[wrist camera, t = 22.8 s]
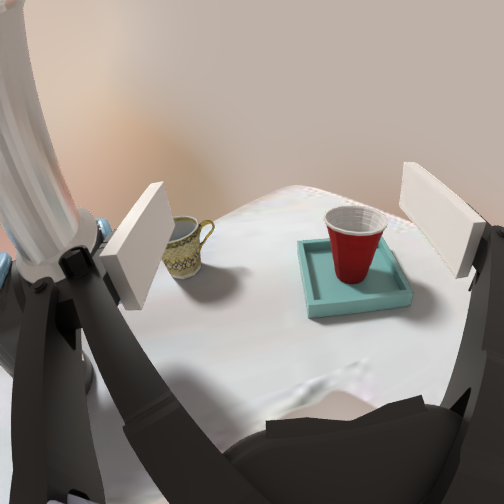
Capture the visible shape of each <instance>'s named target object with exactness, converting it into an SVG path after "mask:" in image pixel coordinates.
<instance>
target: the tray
mask: <svg viewBox="0 0 504 504" xmlns="http://www.w3.org/2000/svg"><path fill="white" fill-rule="evenodd" d="M297 248H298V258H299V264H300V270H301V276H302V282H303V288H304V294H305V301H306V307H307V314H308V318H316V317H326V316H336V315H345V314H353V313H361V312H369V311H377V310H384V309H391V308H398V307H405V306H410V303H411V300H412V297H413V294H414V293H413V291H412V289H411V287H410V285H409V283H408V281H407V279H406V277H405V276H404V274H403V272H402V270H401V268H400V266H399V265H398V263H397V261H396V259H395V257H394V256H393V254H392V252H391V250H390V249H389V247H388V245H387V244H386V242H385V240H384V239H383V237H382V235H381V238H380V240H379V243H378V246H377V249H376V252H375V255H374V258H373V261H372V263H371V265H370V267H369V270H368V273H367V276H366V277H365V279H364V280H363V281H362V282H360V283H358V284H346V283H344V282H342V281H340V280H339V279H338V278H337V276H336V273H335V269H334V261H333V257H332V250H331V243H330V238H328V239H315V240H303V241H297Z"/></svg>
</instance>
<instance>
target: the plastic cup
mask: <svg viewBox="0 0 504 504" xmlns="http://www.w3.org/2000/svg"><path fill="white" fill-rule="evenodd" d="M323 219H324V221H325V224H326V225H327V228H328V233H329V236H330V243H331V250H332V257H333V261H334V269H335V273H336V276H337V278H338V279H339V280H340V281H342V282H344V283H346V284H358V283H360V282H362V281H363V280H364V279H365V277H366V276H367V273H368V270H369V267H370V265H371V263H372V261H373V258H374V255H375V252H376V249H377V246H378V243H379V240H380V238H381V235H382V234H383V231H384V229H385V228H386V227H387V225H388V219H387V218H386V217H385V215H384V214H382V213H380V212H379V211H377V210H375V209H371V208H368V207H364V206H355V205H349V206H339V207H335V208H332V209H330V210H328V211H326V212H325V214H324V216H323Z"/></svg>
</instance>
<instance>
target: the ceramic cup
mask: <svg viewBox="0 0 504 504" xmlns="http://www.w3.org/2000/svg"><path fill="white" fill-rule="evenodd" d="M173 219H174V223H175V227H174V230H173V232H172V234H171V237H170V239H169V241H168V244H167V246H166V249H165V251H164V253H163V256H162V258H161V259H162V261H163V262H164V264H165V266H166V267H167V269H168V271H169V273H170V274H171V276H172V277H173V278H178V279H182V280H183V279H186V278H189V277H192V276H195V275H196V273H197V272H198V271H199V270H200V268H201V259H200V250H201V248H202V245H203V244H204V243H205V241H206V240H207V238H208V237H209V236H210V235H211V234H212V232H213V231H214V227H215V226H214V223H213V222H212V221H210V220H205V221H203V222H201V223H200V224H199V223H198V221H197V219H195V218H193V217H190V216H177V217H173ZM209 223H210V224H212V226H213V227H212V230H211V231H210V232H209V233H208V234H207V236H206V237H205V239H204V240H203V242H202V243H200V240H199V237H200V232H201V229H202V228H203V227H204V226H205V225H206V224H209Z"/></svg>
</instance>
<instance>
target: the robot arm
mask: <svg viewBox="0 0 504 504" xmlns="http://www.w3.org/2000/svg"><path fill="white" fill-rule="evenodd" d="M24 3H25V0H0V225H1V226H2V228H3V229H4V231H5V232H6V234H7V235H8V237H9V238H10V240H11V241H12V243H13V244H14V246H15V247H16V249H17V251H16V260H14V261H12V258H11V256H10V255H9V254H7V253H6V252H1V253H0V365H1V366H2V367H3V368H4V369H5V370H6V371H7V372H8V374H9V375H10V376H11V377H12V378H13V388H12V406H11V445H12V461H13V475H12V482H11V490H10V500H9V504H106V503H105V496H104V489H103V484H102V480H101V475H100V471H99V467H98V463H97V459H96V454H95V450H94V445H93V440H92V434H91V429H90V423H89V417H88V410H87V402H86V394H87V392H88V390H89V387H90V384H91V380H92V366H91V362H90V360H89V358H88V357H87V355H86V354H85V353H84V351H83V350H82V344H81V328H83V331H84V334H85V336H86V339H87V342H88V344H89V347H90V349H91V352H92V354H93V357H94V359H95V362H96V364H97V366H98V369H99V371H100V373H101V375H102V378H103V380H104V382H105V384H106V386H107V388H108V391H109V393H110V395H111V397H112V399H113V401H114V403H115V405H116V407H117V409H118V411H119V413H120V414H121V416H122V418H123V420H124V422H125V426H123V431H124V433H125V435H126V437H127V439H128V441H129V443H130V445H131V446H132V448H133V450H134V451H135V453H136V455H137V456H138V458H139V460H140V461H141V463H142V464H143V466H144V468H145V469H146V471H147V472H148V474H149V475H150V477H151V478H152V480H153V481H154V483H155V484H156V486H157V487H158V488H159V490H160V491H161V493H162V494H163V495H164V497H165V498H166V499H167V501H168V502H169V504H504V227H501V226H491V225H490V224H489V223H488V222H487V221H486V220H485V219H484V218H483V217H482V216H480V215H479V213H477V212H476V211H475V210H474V209H473V208H472V207H471V206H470V205H469V204H467V203H466V202H464V201H463V200H462V199H461V198H460V197H458V196H457V195H456V194H455V193H454V192H453V191H451V190H450V189H449V188H448V187H447V186H445V185H444V184H443V183H442V182H440V181H439V180H438V179H437V178H435V177H434V176H433V175H432V174H430V173H429V172H428V171H426V170H425V169H424V168H422V167H421V166H420V165H418V164H417V163H416V162H404V168H403V178H402V187H401V196H400V203H399V206H400V208H401V209H402V210H403V211H404V212H405V213H406V215H407V216H408V217H409V218H410V219H411V221H412V222H413V223H414V224H415V225H416V227H417V228H418V229H419V230H420V232H421V233H422V234H423V235H424V237H425V238H426V239H427V241H428V242H429V243H430V244H431V246H432V247H433V248H434V250H435V251H436V252H437V254H438V255H439V256H440V258H441V259H442V260H443V262H444V263H445V265H446V266H447V267H448V269H449V270H450V272H451V273H452V274H453V276H454V277H455V279H457V278H463V277H468V275H469V272H470V270H471V267H472V265H473V266H474V268H475V269H476V270H477V271H476V273H475V276H474V278H473V281H472V283H471V285H470V288H469V290H468V291H471V289H472V292H471V298H470V304H469V309H468V314H467V319H466V324H465V328H464V332H463V337H462V341H461V344H460V348H459V352H458V356H457V359H456V363H455V366H454V369H453V372H452V376H451V379H450V382H449V385H448V388H447V390H446V393H445V396H444V398H443V401H442V403H441V404H440V406H436V405H429V404H424V401H423V398H422V395H419V396H415V397H412V398H408V399H404V400H400V401H396V402H392V403H388V404H386V405H384V406H382V407H380V408H378V409H376V410H374V411H372V412H370V413H368V414H365V415H363V416H361V417H359V418H357V419H354V420H351V421H342V420H328V419H318V418H309V417H306V418H296V419H284V420H270V421H266V430H264V431H261V432H257V433H255V434H252V435H250V436H248V437H246V438H244V439H242V440H240V441H239V442H237V443H236V444H234V445H233V446H231V447H230V448H229V449H228V450H227V451H225V452H224V453H223V454H222V453H221V452H220V451H219V450H218V449H217V448H216V447H215V445H214V444H213V443H212V442H211V441H210V440H209V438H208V437H207V436H206V435H205V434H204V433H203V431H202V430H201V429H200V428H199V426H198V425H197V424H196V423H195V422H194V420H193V419H192V418H191V416H190V415H189V414H188V413H187V411H186V410H185V409H184V407H183V406H182V405H181V404H180V402H179V401H178V400H177V398H176V397H175V396H174V394H173V393H172V392H171V390H170V389H169V388H168V386H167V385H166V383H165V382H164V381H163V379H162V378H161V376H160V375H159V373H158V372H157V370H156V369H155V367H154V366H153V364H152V363H151V361H150V360H149V358H148V357H147V355H146V354H145V352H144V351H143V349H142V348H141V346H140V344H139V343H138V341H137V340H136V338H135V336H134V335H133V333H132V331H131V330H130V328H129V326H128V325H127V323H126V321H125V319H124V318H123V316H122V314H121V313H120V311H119V309H118V307H117V306H118V305H119V304H121V303H122V304H123V306H124V308H125V310H142V308H143V305H144V303H145V300H146V297H147V294H148V292H149V289H150V286H151V284H152V281H153V279H154V276H155V273H156V271H157V268H158V266H159V263H160V261H161V258H162V256H163V253H164V251H165V249H166V246H167V244H168V241H169V239H170V237H171V234H172V232H173V230H174V227H175V223H174V219H173V216H172V212H171V208H170V204H169V201H168V197H167V193H166V189H165V185H164V182H157V183H152V184H150V185H149V187H148V188H147V189H146V190H145V192H144V193H143V194H142V196H141V197H140V199H139V200H138V201H137V202H136V204H135V205H134V207H133V208H132V209H131V210H130V212H129V213H128V215H127V216H126V217H125V219H124V220H123V222H122V223H121V224H120V226H119V227H118V229H115V230H114V231H112V230H111V228H110V225H109V223H108V221H107V220H106V219H104V218H101V219H94V217H93V215H92V214H91V213H90V211H88V210H87V209H85V208H83V207H80V206H76V205H75V203H74V201H73V199H72V196H71V194H70V191H69V189H68V187H67V184H66V181H65V179H64V176H63V174H62V171H61V169H60V166H59V163H58V160H57V157H56V154H55V152H54V149H53V146H52V143H51V140H50V137H49V133H48V130H47V127H46V123H45V120H44V117H43V113H42V109H41V106H40V102H39V98H38V94H37V90H36V86H35V81H34V77H33V72H32V67H31V62H30V57H29V51H28V46H27V39H26V32H25V24H24V14H23V5H24Z"/></svg>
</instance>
